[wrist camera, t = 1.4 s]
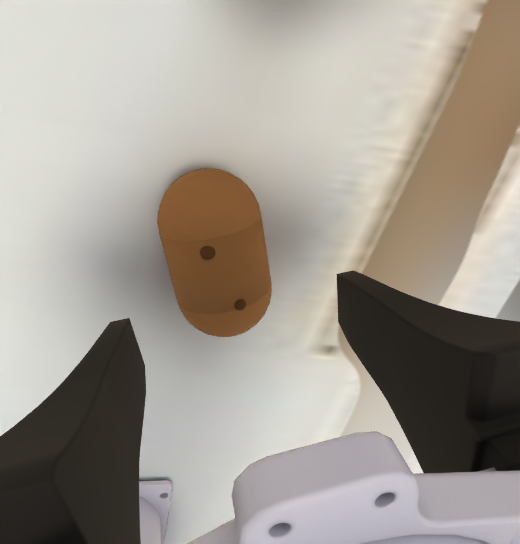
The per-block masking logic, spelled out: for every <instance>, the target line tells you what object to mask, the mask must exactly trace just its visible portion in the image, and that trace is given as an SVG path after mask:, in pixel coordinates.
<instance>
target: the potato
mask: <svg viewBox="0 0 520 544" xmlns="http://www.w3.org/2000/svg"><path fill="white" fill-rule="evenodd" d="M157 223H158V229H159V234H160V238H161V242H162V245H163V249H164V253H165V257H166V261H167V264H168V268H169V272H170V276H171V280H172V283H173V287H174V291H175V295H176V299H177V302H178V305H179V307H180V310H181V312H182V314H183V315H184V317H185V318H186V319H187V320H188V322H189V323H190V324H192V325H193V326H194V327H195V328H196V329H198V330H200V331H202V332H204V333H206V334H208V335H212V336H218V337H230V336H235V335H239V334H241V333H244V332H246V331H247V330H249V329H250V328H252V327H253V326H255V325H256V324H257V323H258V322H259V320H260V319H261V318H262V317H263V315H264V314H265V312H266V310H267V308H268V305H269V303H270V298H271V291H272V290H271V278H270V271H269V264H268V258H267V251H266V244H265V238H264V231H263V224H262V218H261V212H260V208H259V204H258V202H257V200H256V198H255V196H254V194H253V192H252V191H251V190H250V188H249V187H248V186H247V185H246V184H245V183H244V182H243V181H242V180H241V179H239V178H238V177H236V176H234V175H232V174H231V173H229V172H225V171H222V170H219V169H199V170H195V171H192V172H189V173H187V174H185V175H183V176H181V177H180V178H179V179H177V180H176V181H175V182H174V183H173V184H172V185H171V186H170V187H169V188H168V190H167V191H166V192H165V194H164V196H163V198H162V200H161V203H160V207H159V211H158V222H157Z"/></svg>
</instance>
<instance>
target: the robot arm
mask: <svg viewBox="0 0 520 544" xmlns="http://www.w3.org/2000/svg"><path fill="white" fill-rule="evenodd" d="M337 294H338V322H339V324H340V326H341V328H342V330H343V333H344V335H345V337H346V339H347V341H348V342H349V344H350V346H351V347H352V349H353V350H354V352H355V353H356V355H357V356H358V358H359V359H360V361H361V362H362V364H363V365H364V367H365V368H366V370H367V371H368V372H369V374H370V375H371V377H372V378H373V380H374V381H375V383H376V384H377V386H378V387H379V388H380V390H381V391H382V393H383V394H384V396H385V398H386V399H387V401H388V403H389V405H390V406H391V409H392V410H393V412H394V414H395V416H396V418H397V420H398V422H399V423H400V425H401V427H402V429H403V431H404V433H405V435H406V437H407V439H408V441H409V443H410V445H411V447H412V449H413V451H414V453H415V456H416V458H417V460H418V462H419V464H420V466H421V468H422V470H423V472H424V473H423V474H413V473H412V472H411V470H410V468H409V467H408V465H407V463H406V462H405V460H404V458H403V457H402V455H401V454H400V452H399V450H398V448H397V447H396V445H395V444H394V442H393V440H392V439H391V438H389V437H387V436H385V435H383V434H381V433H379V432H362V433H354V434H350V435H346V436H342V437H339V438H335V439H331V440H327V441H323V442H320V443H316V444H312V445H308V446H305V447H301V448H297V449H293V450H289V451H286V452H282V453H278V454H274V455H270V456H267V457H265V458H263V459H261V460H258V461H256V462H254V463H252V464H250V465H249V466H248V467H247V468H246V469H245V470H244V471H243V472H242V473H241V474H240V475H239V476H238V477H237V478H236V479H235V481H234V486H233V492H232V499H233V506H234V512H235V519H233V520H231V521H229V522H227V523H225V524H223V525H221V526H219V527H218V528H216V529H214V530H212V531H210V532H208V533H206V534H204V535H202V536H200V537H199V538H197V539H195V540H193V541H191V542H189V543H187V544H520V322H517V321H509V320H502V319H495V318H489V317H483V316H478V315H474V314H469V313H464V312H460V311H456V310H452V309H449V308H445V307H442V306H438V305H435V304H432V303H429V302H426V301H423V300H421V299H418V298H415V297H412V296H410V295H408V294H405V293H403V292H400V291H398V290H396V289H394V288H391V287H389V286H387V285H385V284H382V283H380V282H378V281H376V280H374V279H371V278H370V277H367V276H365V275H363V274H361V273H358V272H356V271H349V272H344V273H340V274H337ZM145 397H146V378H145V365H144V361H143V358H142V355H141V352H140V349H139V346H138V343H137V340H136V337H135V334H134V331H133V328H132V325H131V322H130V319H129V318H127V319H123V320H118V321H113V322H110V323H109V325H108V326H107V327H106V329H105V330H104V331H103V333H102V334H101V335H100V337H99V338H98V340H97V341H96V342H95V344H94V345H93V346H92V348H91V349H90V350H89V352H88V353H87V354H86V355H85V357H84V358H83V359H82V361H81V362H80V363H79V364H78V365H77V366H76V368H75V369H74V370H73V371H72V372H71V373H70V374H69V376H68V377H67V378H66V379H65V380H64V381H63V382H62V383H61V385H60V386H59V387H58V388H57V389H56V390H55V391H54V392H53V393H52V394H51V395H50V396H49V397H47V398H46V399H45V400H44V401H43V402H42V403H41V404H40V405H39V406H38V407H37V408H35V409H34V410H33V411H32V412H31V413H29V414H28V415H27V416H26V417H25V418H23V419H22V420H21V421H20V422H19V423H17V424H16V425H15V426H14V427H12V428H11V429H10V430H8V431H7V432H6V433H4V434H3V435H2V436H0V544H163V543H164V537H165V531H166V524H167V518H168V512H169V506H170V500H171V494H172V483H171V482H170V481H168V480H159V481H140V482H139V457H140V445H141V436H142V426H143V417H144V407H145Z"/></svg>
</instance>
